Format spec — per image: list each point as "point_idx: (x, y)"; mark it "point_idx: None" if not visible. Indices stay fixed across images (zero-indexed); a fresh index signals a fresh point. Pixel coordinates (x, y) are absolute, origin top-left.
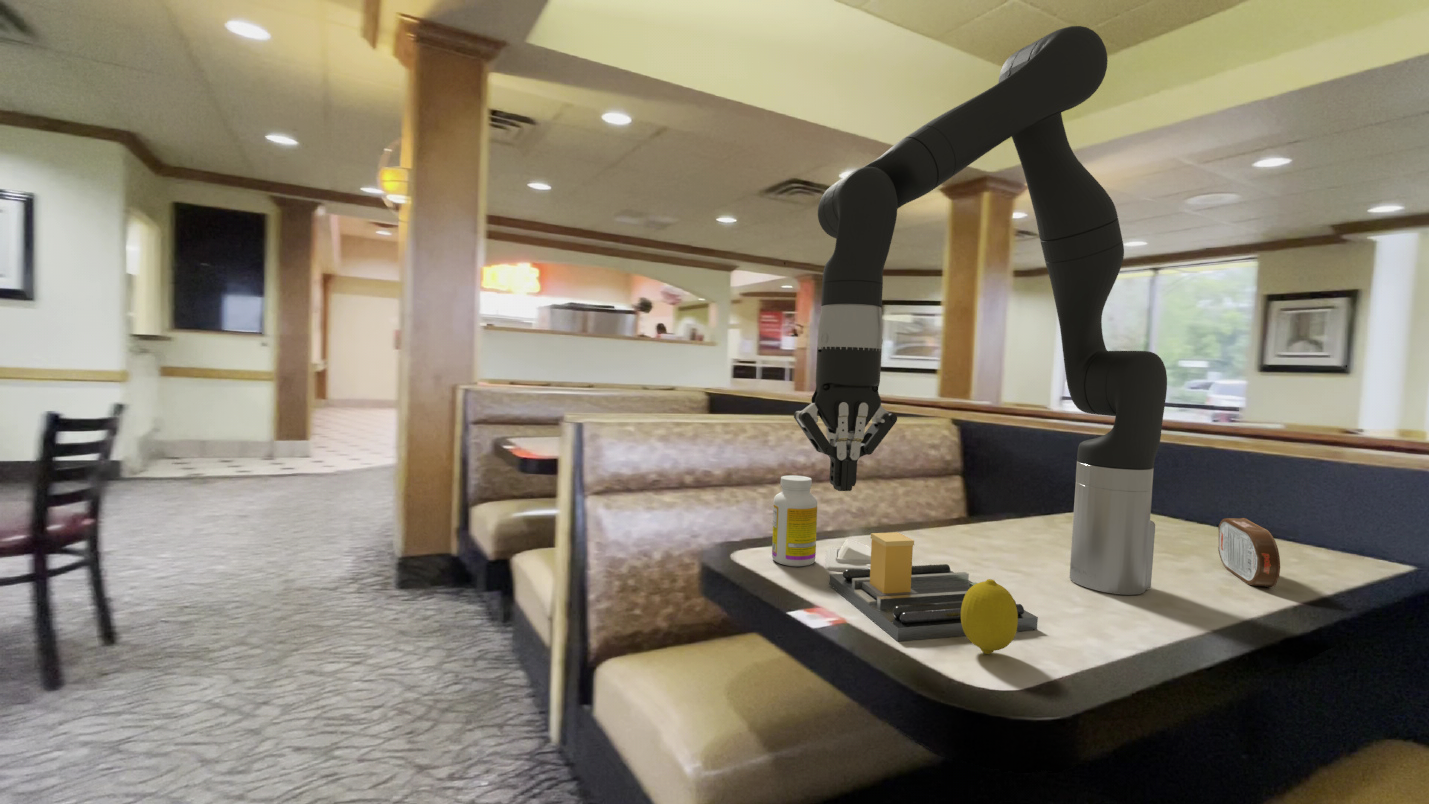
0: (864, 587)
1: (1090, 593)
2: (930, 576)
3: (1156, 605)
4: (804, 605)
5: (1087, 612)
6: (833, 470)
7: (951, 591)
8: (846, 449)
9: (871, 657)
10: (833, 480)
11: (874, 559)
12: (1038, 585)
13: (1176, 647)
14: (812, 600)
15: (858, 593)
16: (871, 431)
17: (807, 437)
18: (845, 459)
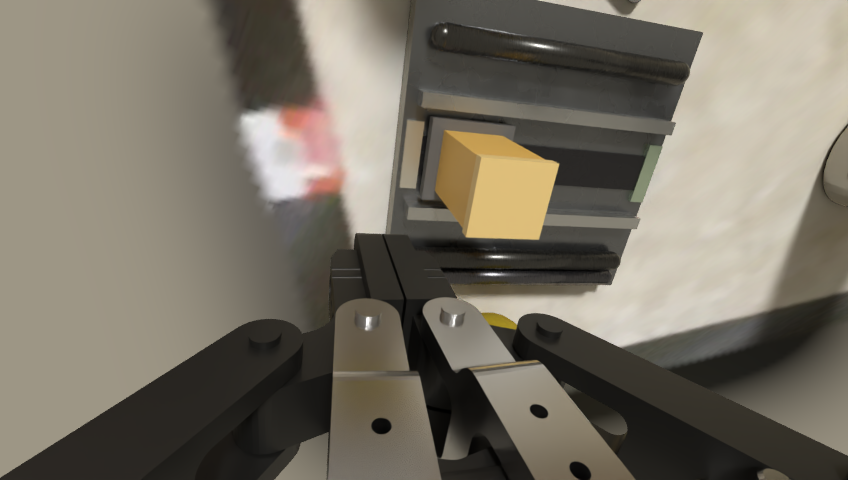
0: (429, 127)
1: (806, 178)
2: (593, 126)
3: (820, 237)
4: (291, 90)
5: (719, 238)
6: (330, 320)
7: (585, 172)
8: (433, 367)
9: (311, 309)
10: (329, 296)
11: (459, 161)
12: (785, 123)
13: (689, 337)
14: (323, 67)
15: (404, 140)
16: (632, 462)
17: (119, 404)
18: (408, 342)
